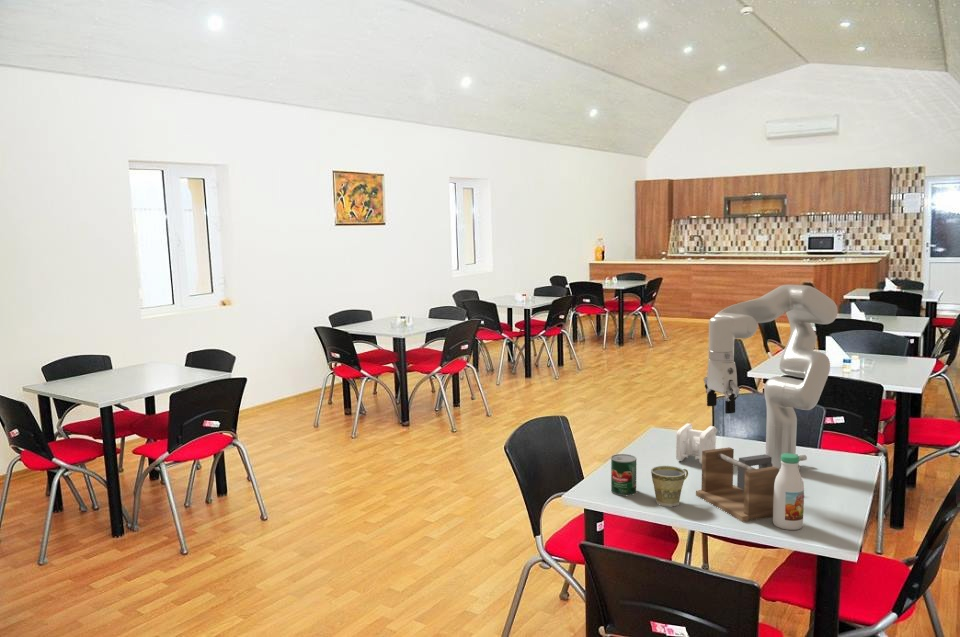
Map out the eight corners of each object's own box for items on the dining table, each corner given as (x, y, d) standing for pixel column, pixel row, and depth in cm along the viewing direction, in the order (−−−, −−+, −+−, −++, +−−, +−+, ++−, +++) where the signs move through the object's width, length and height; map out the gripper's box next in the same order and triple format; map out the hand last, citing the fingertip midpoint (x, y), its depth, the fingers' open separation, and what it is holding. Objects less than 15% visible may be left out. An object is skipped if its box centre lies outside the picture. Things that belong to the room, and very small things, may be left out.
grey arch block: (763, 483, 233) (764, 453, 232) (771, 488, 229) (772, 457, 228) (737, 487, 230) (737, 457, 229) (745, 492, 226) (746, 461, 225)
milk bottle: (772, 528, 198) (775, 458, 196) (772, 518, 206) (774, 450, 203) (803, 532, 196) (806, 460, 193) (802, 521, 203) (804, 452, 200)
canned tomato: (634, 487, 232) (634, 454, 231) (638, 496, 225) (638, 461, 223) (609, 487, 233) (609, 453, 232) (612, 495, 225) (612, 461, 224)
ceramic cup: (666, 511, 212) (667, 478, 211) (643, 500, 220) (644, 469, 219) (699, 503, 218) (700, 470, 217) (675, 492, 227) (676, 462, 225)
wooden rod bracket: (695, 495, 224) (696, 451, 222) (733, 489, 228) (734, 446, 227) (742, 521, 203) (743, 473, 202) (783, 515, 208) (784, 467, 206)
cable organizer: (687, 452, 268) (688, 421, 267) (717, 456, 262) (717, 425, 261) (675, 463, 256) (675, 431, 254) (705, 468, 250) (706, 435, 248)
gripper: (749, 359, 219) (748, 414, 221) (715, 350, 236) (714, 402, 238) (727, 361, 217) (727, 417, 219) (695, 352, 234) (694, 404, 236)
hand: (720, 409), depth 229 cm, fingers open, 9 cm apart
